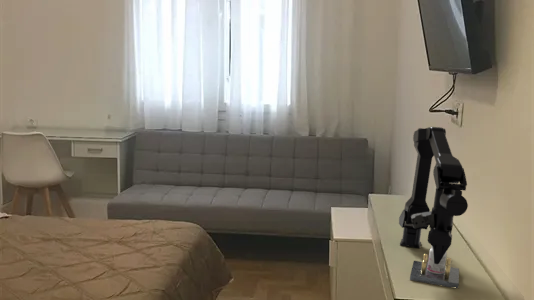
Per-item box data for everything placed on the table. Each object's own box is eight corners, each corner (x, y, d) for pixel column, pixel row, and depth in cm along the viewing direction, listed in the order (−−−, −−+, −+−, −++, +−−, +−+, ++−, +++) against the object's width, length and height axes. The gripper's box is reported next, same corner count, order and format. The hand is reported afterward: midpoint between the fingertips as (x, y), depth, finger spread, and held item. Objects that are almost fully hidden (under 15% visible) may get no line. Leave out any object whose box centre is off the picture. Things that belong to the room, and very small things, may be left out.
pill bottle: (425, 267, 173) (429, 239, 172) (442, 269, 173) (446, 241, 171) (428, 273, 168) (432, 245, 167) (445, 275, 168) (449, 247, 167)
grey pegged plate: (413, 265, 179) (415, 249, 178) (458, 273, 175) (460, 257, 174) (409, 279, 166) (411, 262, 166) (458, 288, 163) (460, 271, 162)
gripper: (417, 195, 178) (410, 244, 181) (412, 209, 161) (405, 263, 163) (455, 200, 175) (448, 251, 178) (455, 215, 158) (447, 271, 160)
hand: (436, 258), depth 170 cm, fingers open, 9 cm apart
